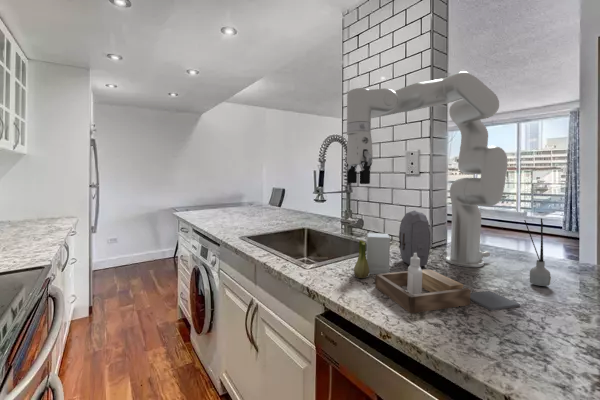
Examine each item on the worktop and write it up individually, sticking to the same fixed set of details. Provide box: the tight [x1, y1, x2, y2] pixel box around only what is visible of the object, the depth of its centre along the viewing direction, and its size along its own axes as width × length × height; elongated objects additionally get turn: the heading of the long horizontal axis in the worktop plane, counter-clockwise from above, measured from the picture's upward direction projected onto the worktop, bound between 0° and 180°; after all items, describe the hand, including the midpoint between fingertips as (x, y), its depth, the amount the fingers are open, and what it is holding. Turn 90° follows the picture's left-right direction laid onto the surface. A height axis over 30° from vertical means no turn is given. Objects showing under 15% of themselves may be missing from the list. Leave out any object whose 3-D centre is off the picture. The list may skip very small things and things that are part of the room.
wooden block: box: [422, 269, 464, 293], centre depth 84 cm, size 4×13×4 cm, turn 14°
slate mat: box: [470, 290, 521, 311], centre depth 78 cm, size 9×9×1 cm
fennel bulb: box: [353, 240, 370, 279], centre depth 97 cm, size 6×5×12 cm
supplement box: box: [366, 232, 391, 275], centre depth 103 cm, size 7×7×13 cm
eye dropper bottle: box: [406, 253, 423, 295], centre depth 81 cm, size 4×6×12 cm
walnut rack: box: [374, 268, 472, 314], centre depth 82 cm, size 17×17×4 cm
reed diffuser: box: [523, 218, 552, 287], centre depth 89 cm, size 10×7×20 cm
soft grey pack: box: [398, 210, 431, 268], centre depth 110 cm, size 15×8×20 cm, turn 3°
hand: (358, 183), depth 97 cm, fingers open, 9 cm apart
